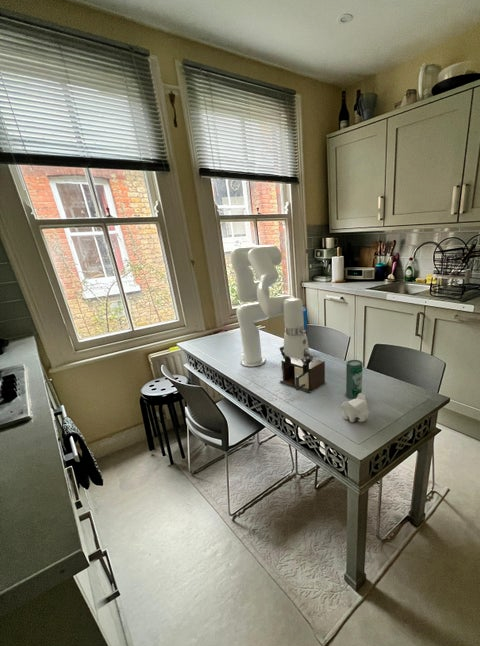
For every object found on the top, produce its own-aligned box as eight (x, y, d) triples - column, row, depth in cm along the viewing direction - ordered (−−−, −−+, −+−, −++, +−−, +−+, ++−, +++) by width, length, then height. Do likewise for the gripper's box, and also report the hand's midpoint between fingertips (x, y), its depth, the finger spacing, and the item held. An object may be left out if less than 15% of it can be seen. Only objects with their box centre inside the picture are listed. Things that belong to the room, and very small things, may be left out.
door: (287, 389, 139) (286, 371, 135) (296, 384, 143) (295, 366, 139) (300, 394, 134) (299, 375, 130) (309, 388, 138) (308, 370, 134)
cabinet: (280, 383, 147) (278, 361, 143) (296, 374, 155) (295, 353, 151) (309, 393, 137) (308, 370, 132) (325, 383, 145) (324, 361, 141)
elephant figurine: (360, 430, 110) (361, 409, 107) (335, 417, 119) (335, 397, 115) (376, 419, 116) (378, 398, 113) (351, 408, 124) (351, 388, 121)
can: (357, 400, 130) (358, 366, 124) (344, 396, 133) (344, 364, 127) (363, 393, 135) (364, 361, 128) (349, 390, 138) (350, 358, 131)
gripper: (317, 331, 122) (319, 371, 128) (284, 325, 132) (287, 362, 139) (305, 336, 116) (307, 378, 123) (272, 329, 127) (275, 368, 134)
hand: (297, 370), depth 131 cm, fingers open, 9 cm apart
